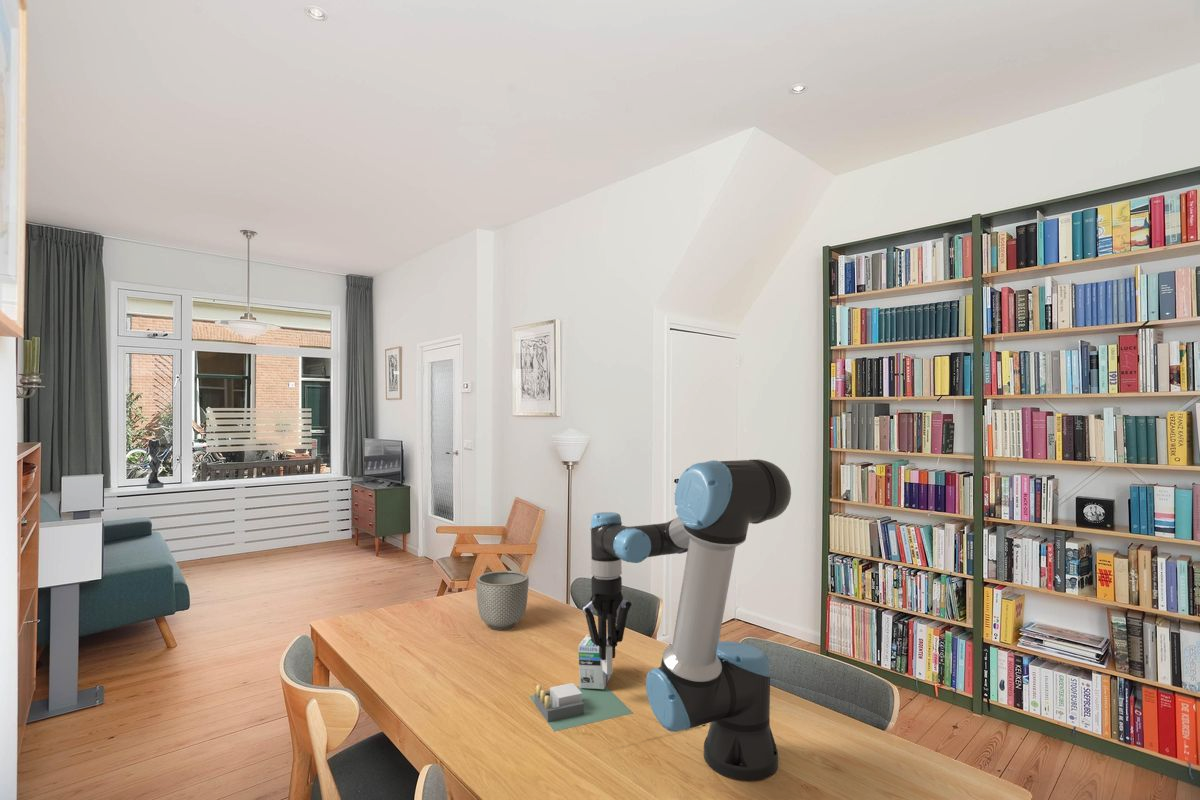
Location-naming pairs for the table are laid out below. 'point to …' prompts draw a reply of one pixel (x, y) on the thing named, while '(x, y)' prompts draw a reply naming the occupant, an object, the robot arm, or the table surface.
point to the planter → (502, 598)
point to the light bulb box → (591, 665)
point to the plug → (564, 695)
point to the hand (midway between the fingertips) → (607, 671)
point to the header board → (580, 708)
